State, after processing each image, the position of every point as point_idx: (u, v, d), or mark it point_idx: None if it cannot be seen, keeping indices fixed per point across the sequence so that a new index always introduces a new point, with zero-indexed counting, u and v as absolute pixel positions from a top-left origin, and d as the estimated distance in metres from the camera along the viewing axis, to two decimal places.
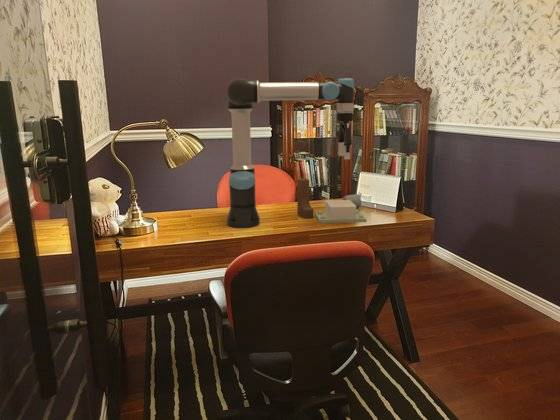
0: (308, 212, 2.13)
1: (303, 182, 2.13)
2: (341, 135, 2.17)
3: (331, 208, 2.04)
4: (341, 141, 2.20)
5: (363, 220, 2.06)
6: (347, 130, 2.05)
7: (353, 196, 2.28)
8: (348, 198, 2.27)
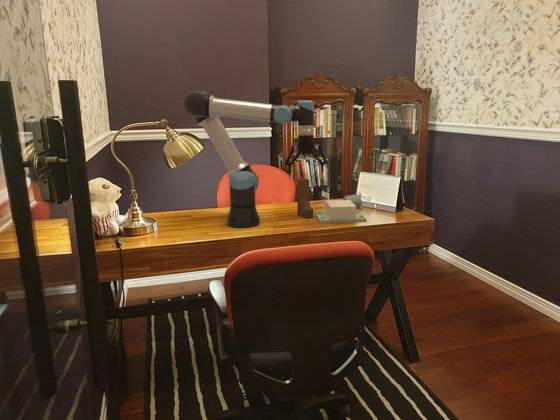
0: (308, 212, 2.13)
1: (303, 182, 2.13)
2: None
3: (331, 208, 2.04)
4: None
5: (363, 220, 2.06)
6: (290, 151, 2.10)
7: (354, 196, 2.27)
8: (349, 198, 2.26)
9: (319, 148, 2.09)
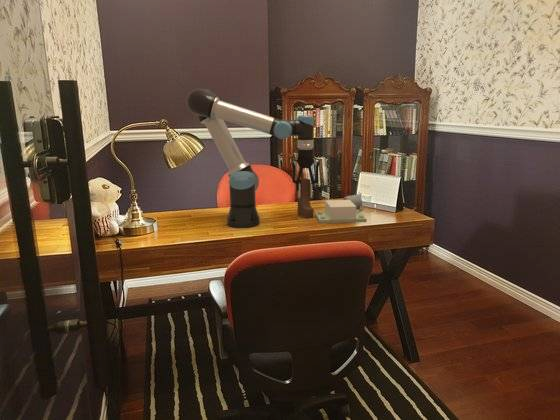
0: (309, 212, 2.13)
1: (304, 182, 2.13)
2: (309, 173, 2.13)
3: (331, 208, 2.04)
4: None
5: (363, 220, 2.06)
6: (292, 168, 2.12)
7: (354, 196, 2.27)
8: (349, 198, 2.26)
9: (317, 165, 2.11)
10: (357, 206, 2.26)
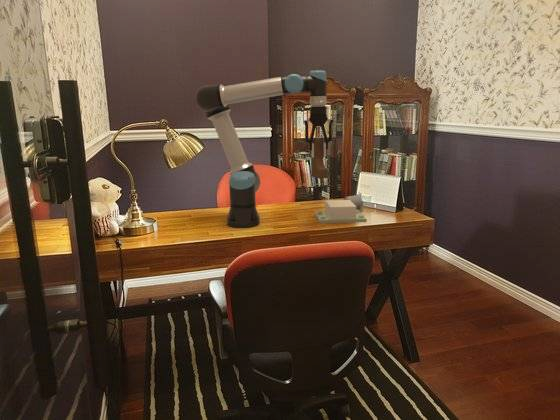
0: (323, 172, 2.06)
1: (317, 141, 2.07)
2: (322, 132, 2.07)
3: (331, 208, 2.04)
4: (325, 141, 2.07)
5: (363, 220, 2.06)
6: (305, 127, 2.05)
7: (355, 197, 2.26)
8: (350, 199, 2.25)
9: (330, 123, 2.04)
10: (358, 206, 2.25)
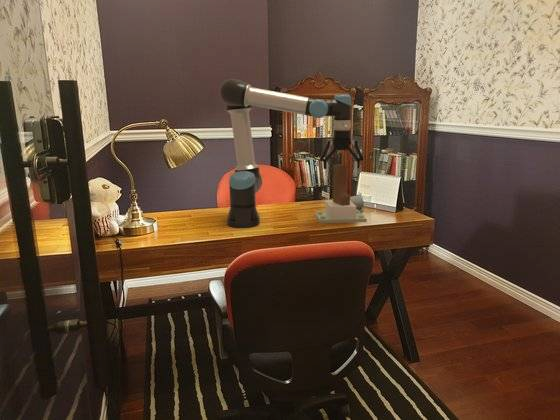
0: (345, 199, 2.06)
1: (340, 167, 2.06)
2: None
3: (331, 208, 2.04)
4: (356, 160, 2.06)
5: (363, 220, 2.06)
6: (325, 147, 2.04)
7: (355, 197, 2.25)
8: (350, 199, 2.24)
9: (355, 144, 2.03)
10: (358, 207, 2.25)
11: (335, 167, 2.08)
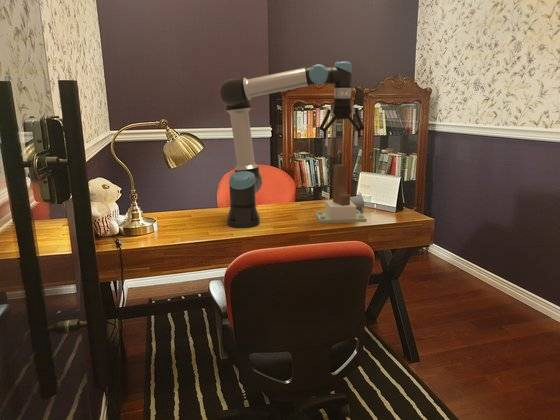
0: (345, 199, 2.06)
1: (340, 167, 2.06)
2: (351, 122, 2.03)
3: (331, 208, 2.04)
4: (357, 130, 2.03)
5: (363, 220, 2.06)
6: (325, 116, 2.01)
7: (356, 197, 2.24)
8: (351, 200, 2.23)
9: (356, 113, 2.00)
10: (359, 207, 2.24)
11: (335, 167, 2.08)
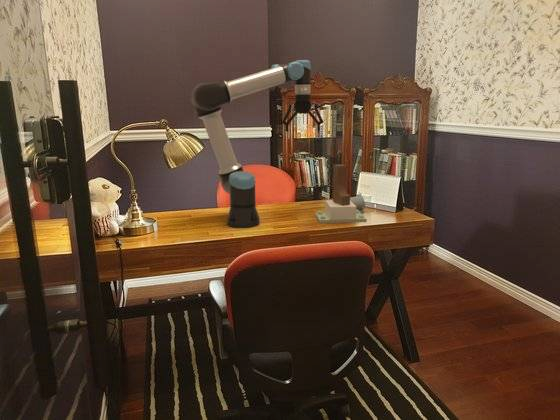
0: (345, 199, 2.06)
1: (340, 167, 2.06)
2: None
3: (331, 208, 2.04)
4: (317, 123, 2.19)
5: (363, 220, 2.06)
6: (287, 110, 2.17)
7: (357, 198, 2.24)
8: (351, 200, 2.23)
9: (315, 107, 2.16)
10: (360, 208, 2.23)
11: (335, 167, 2.08)
